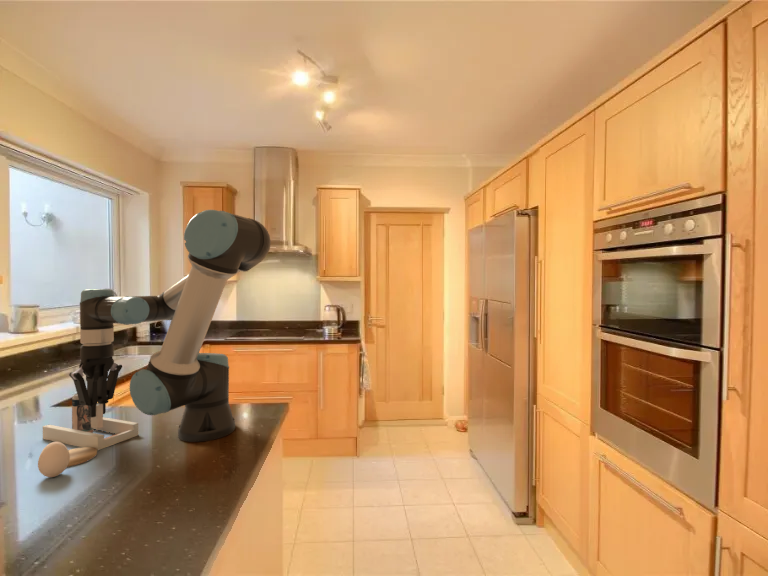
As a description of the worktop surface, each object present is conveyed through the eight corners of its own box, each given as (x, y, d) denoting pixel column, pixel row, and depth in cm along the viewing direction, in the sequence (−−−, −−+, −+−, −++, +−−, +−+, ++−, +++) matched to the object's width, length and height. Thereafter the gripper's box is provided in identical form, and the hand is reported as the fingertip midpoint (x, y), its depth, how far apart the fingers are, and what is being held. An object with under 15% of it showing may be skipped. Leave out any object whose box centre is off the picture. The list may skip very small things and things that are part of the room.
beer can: (81, 439, 106) (81, 396, 106) (67, 438, 107) (67, 395, 107) (97, 432, 110) (97, 391, 110) (84, 431, 111) (84, 391, 111)
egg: (43, 484, 81) (43, 449, 81) (34, 478, 84) (34, 443, 84) (73, 474, 86) (73, 440, 86) (64, 468, 88) (64, 435, 88)
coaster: (106, 453, 96) (106, 450, 96) (61, 471, 87) (61, 467, 87) (80, 448, 100) (80, 445, 100) (34, 464, 90) (34, 461, 90)
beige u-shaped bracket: (138, 435, 108) (138, 422, 108) (97, 450, 98) (97, 437, 98) (85, 425, 116) (85, 414, 116) (42, 438, 106) (42, 426, 106)
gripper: (111, 340, 114) (111, 418, 114) (62, 346, 102) (61, 433, 102) (129, 341, 111) (128, 421, 111) (80, 347, 99) (80, 437, 99)
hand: (96, 427), depth 106 cm, fingers closed
